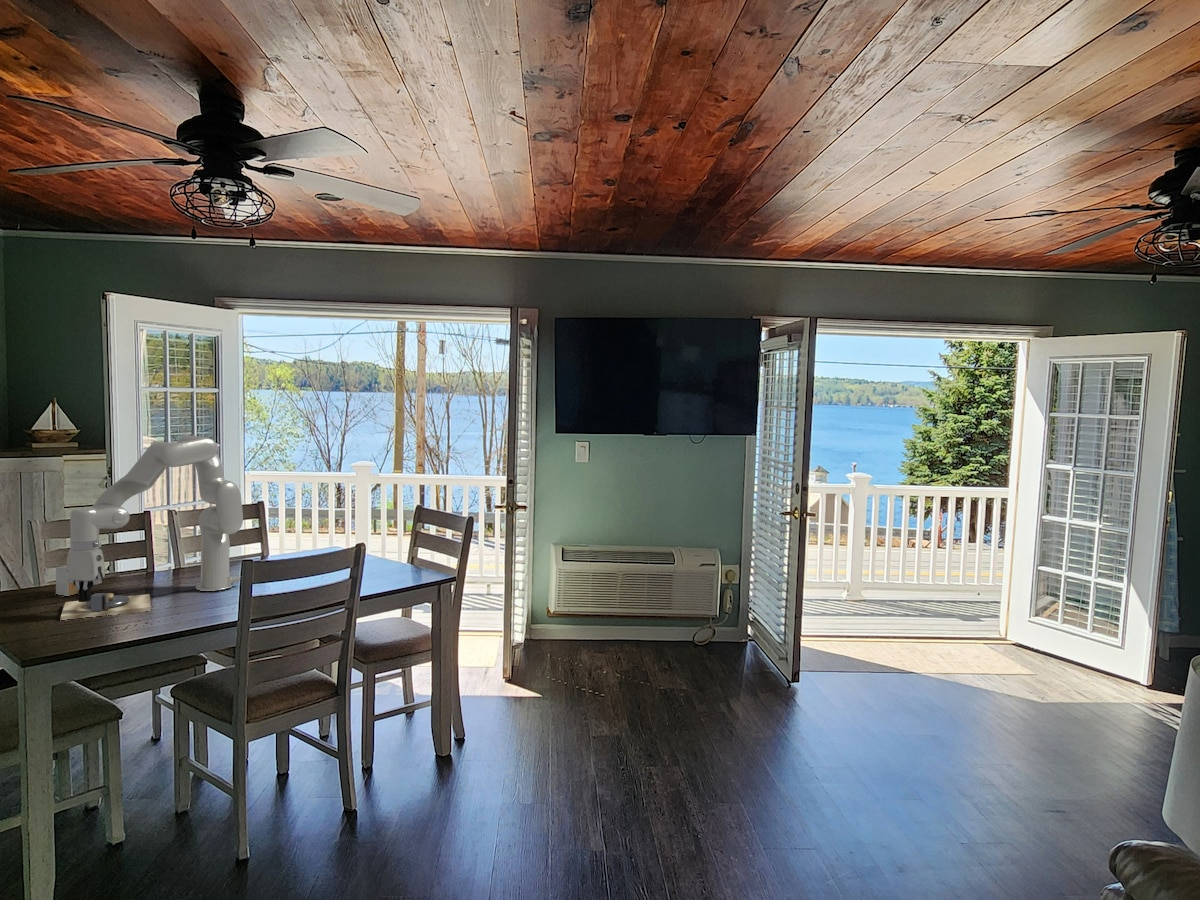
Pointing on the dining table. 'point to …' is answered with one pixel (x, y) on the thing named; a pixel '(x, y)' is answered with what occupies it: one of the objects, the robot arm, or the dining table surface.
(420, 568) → the dining table surface
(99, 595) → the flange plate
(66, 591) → the small box
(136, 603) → the post board
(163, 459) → the robot arm
